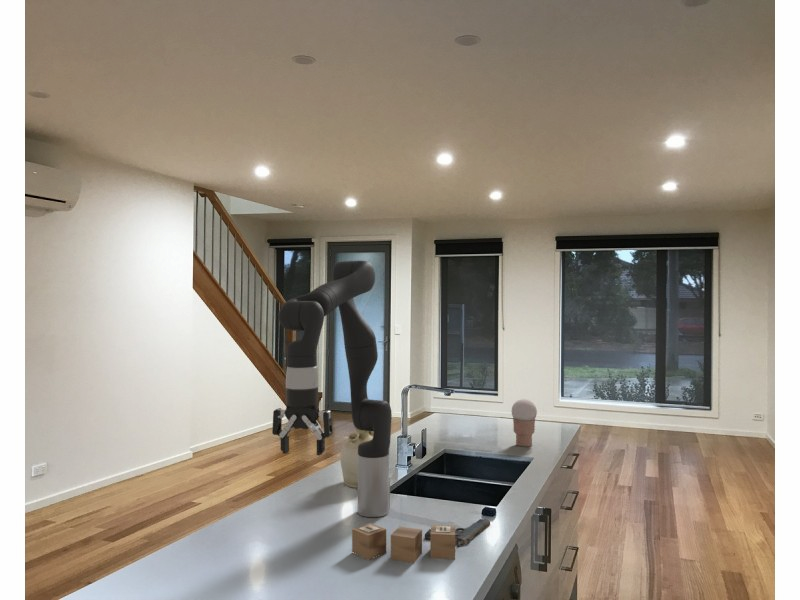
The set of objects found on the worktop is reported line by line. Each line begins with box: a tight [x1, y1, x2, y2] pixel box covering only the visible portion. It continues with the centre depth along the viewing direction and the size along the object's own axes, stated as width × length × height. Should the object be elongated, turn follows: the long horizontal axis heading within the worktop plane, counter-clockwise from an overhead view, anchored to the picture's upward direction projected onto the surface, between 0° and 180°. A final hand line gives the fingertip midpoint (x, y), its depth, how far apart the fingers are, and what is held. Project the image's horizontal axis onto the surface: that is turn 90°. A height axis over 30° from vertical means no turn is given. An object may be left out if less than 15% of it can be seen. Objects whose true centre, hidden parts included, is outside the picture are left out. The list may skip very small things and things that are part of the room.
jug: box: [339, 422, 374, 489], centre depth 210 cm, size 15×16×25 cm
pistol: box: [424, 518, 491, 547], centre depth 166 cm, size 2×19×12 cm
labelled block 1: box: [351, 522, 387, 560], centre depth 152 cm, size 6×6×6 cm
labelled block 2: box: [429, 524, 456, 560], centre depth 152 cm, size 6×6×6 cm
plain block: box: [390, 525, 423, 564], centre depth 150 cm, size 6×6×6 cm
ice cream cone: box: [511, 398, 538, 447], centre depth 268 cm, size 11×11×20 cm
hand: (302, 453), depth 145 cm, fingers open, 8 cm apart
